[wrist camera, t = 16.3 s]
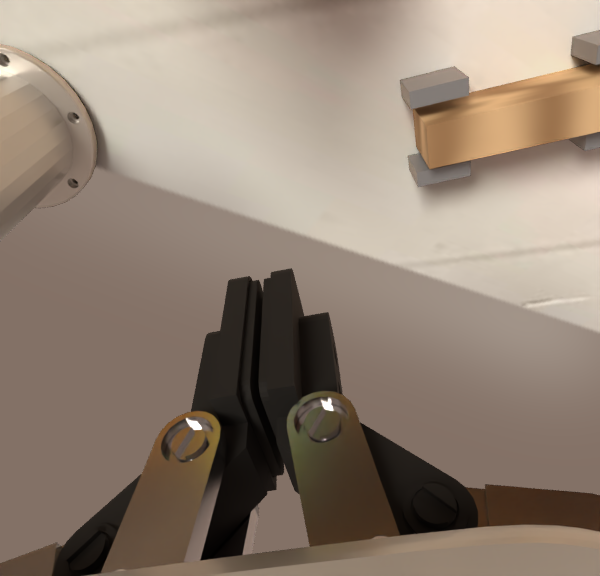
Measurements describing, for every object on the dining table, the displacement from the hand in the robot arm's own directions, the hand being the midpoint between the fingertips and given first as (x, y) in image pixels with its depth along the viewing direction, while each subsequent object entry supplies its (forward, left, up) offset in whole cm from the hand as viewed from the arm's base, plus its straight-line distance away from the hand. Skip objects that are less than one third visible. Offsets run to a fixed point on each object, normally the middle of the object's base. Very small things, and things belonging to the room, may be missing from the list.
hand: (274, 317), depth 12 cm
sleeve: (+10, -6, -28) cm, 30 cm away
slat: (+17, -6, -28) cm, 33 cm away
